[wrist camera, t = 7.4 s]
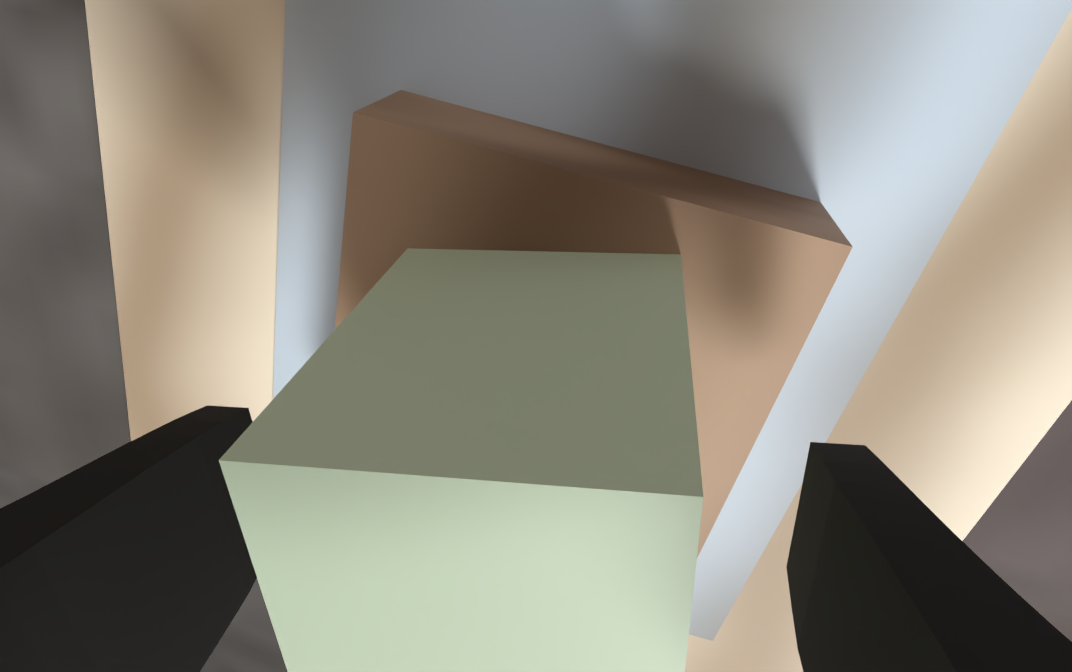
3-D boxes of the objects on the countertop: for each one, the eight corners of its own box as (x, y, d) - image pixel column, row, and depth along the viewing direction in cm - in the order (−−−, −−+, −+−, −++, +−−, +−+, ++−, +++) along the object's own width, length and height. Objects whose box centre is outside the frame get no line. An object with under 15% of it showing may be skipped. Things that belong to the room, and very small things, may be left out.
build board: (1372, -65, 9) (1657, -80, 6) (821, 684, 17) (849, 805, 15) (85, -389, 9) (-124, -521, 7) (159, 494, 18) (77, 580, 15)
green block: (680, 254, 9) (704, 497, 5) (665, 477, 11) (671, 793, 7) (407, 248, 10) (219, 460, 6) (436, 461, 12) (310, 742, 8)
